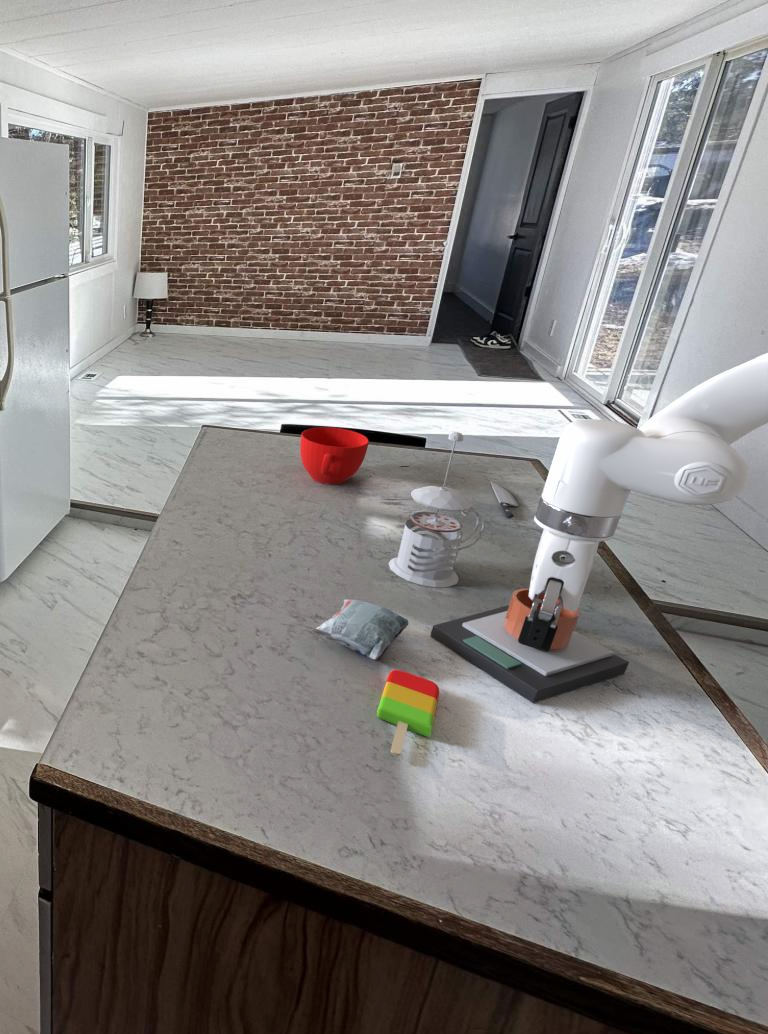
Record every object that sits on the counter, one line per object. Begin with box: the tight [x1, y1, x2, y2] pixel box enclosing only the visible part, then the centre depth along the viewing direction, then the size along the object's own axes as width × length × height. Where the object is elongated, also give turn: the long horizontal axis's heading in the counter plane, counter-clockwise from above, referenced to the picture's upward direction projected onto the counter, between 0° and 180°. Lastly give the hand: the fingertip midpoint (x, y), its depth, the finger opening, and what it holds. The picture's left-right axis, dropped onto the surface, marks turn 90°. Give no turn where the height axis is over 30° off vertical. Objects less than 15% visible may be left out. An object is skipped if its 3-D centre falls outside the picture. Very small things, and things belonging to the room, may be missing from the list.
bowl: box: [504, 588, 582, 650], centre depth 86 cm, size 7×7×6 cm
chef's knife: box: [490, 481, 519, 519], centre depth 129 cm, size 19×1×3 cm
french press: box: [388, 431, 485, 588], centre depth 103 cm, size 10×12×25 cm
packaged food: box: [311, 598, 409, 661], centre depth 92 cm, size 9×12×5 cm
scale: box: [430, 604, 630, 704], centre depth 87 cm, size 16×14×3 cm
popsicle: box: [376, 669, 440, 757], centre depth 78 cm, size 6×15×2 cm, turn 140°
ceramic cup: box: [299, 426, 369, 485], centre depth 140 cm, size 13×17×10 cm
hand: (536, 631), depth 87 cm, fingers closed on bowl, 7 cm apart
